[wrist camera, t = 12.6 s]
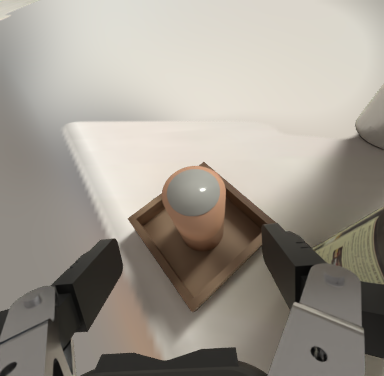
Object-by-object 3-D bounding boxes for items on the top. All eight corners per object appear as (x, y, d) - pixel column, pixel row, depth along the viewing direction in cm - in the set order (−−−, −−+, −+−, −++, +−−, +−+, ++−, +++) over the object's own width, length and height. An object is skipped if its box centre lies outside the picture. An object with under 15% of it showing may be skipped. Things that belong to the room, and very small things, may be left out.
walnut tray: (205, 175, 31) (203, 161, 28) (272, 235, 25) (279, 225, 22) (137, 227, 28) (127, 218, 25) (195, 311, 21) (191, 312, 19)
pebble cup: (203, 202, 27) (196, 155, 19) (232, 231, 25) (240, 191, 16) (172, 228, 26) (149, 189, 17) (199, 261, 23) (188, 235, 15)
